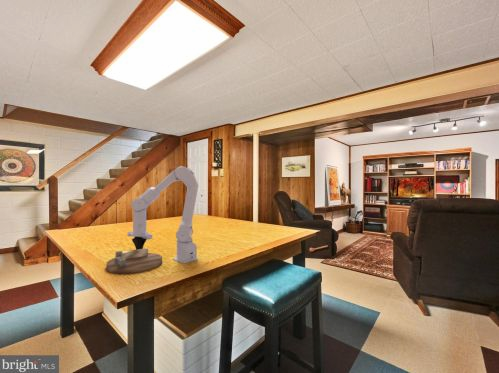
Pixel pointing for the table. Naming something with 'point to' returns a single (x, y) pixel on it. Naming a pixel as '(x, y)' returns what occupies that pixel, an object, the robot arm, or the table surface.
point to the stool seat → (133, 264)
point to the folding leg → (132, 253)
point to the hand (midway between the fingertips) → (139, 252)
